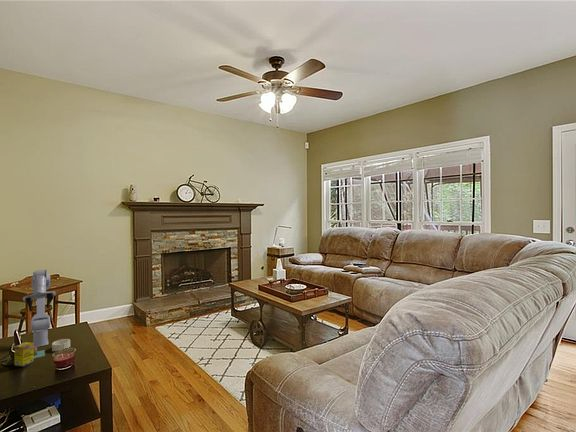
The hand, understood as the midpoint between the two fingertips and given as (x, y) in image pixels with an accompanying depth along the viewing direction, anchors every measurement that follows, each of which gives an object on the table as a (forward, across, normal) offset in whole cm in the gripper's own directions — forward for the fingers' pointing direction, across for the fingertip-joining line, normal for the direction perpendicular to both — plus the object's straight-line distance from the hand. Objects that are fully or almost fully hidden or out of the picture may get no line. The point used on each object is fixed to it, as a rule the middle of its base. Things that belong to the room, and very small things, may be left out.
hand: (39, 309), depth 178 cm
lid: (+14, -7, +27) cm, 31 cm away
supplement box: (+22, -10, +18) cm, 30 cm away
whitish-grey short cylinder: (+12, +5, +30) cm, 33 cm away
